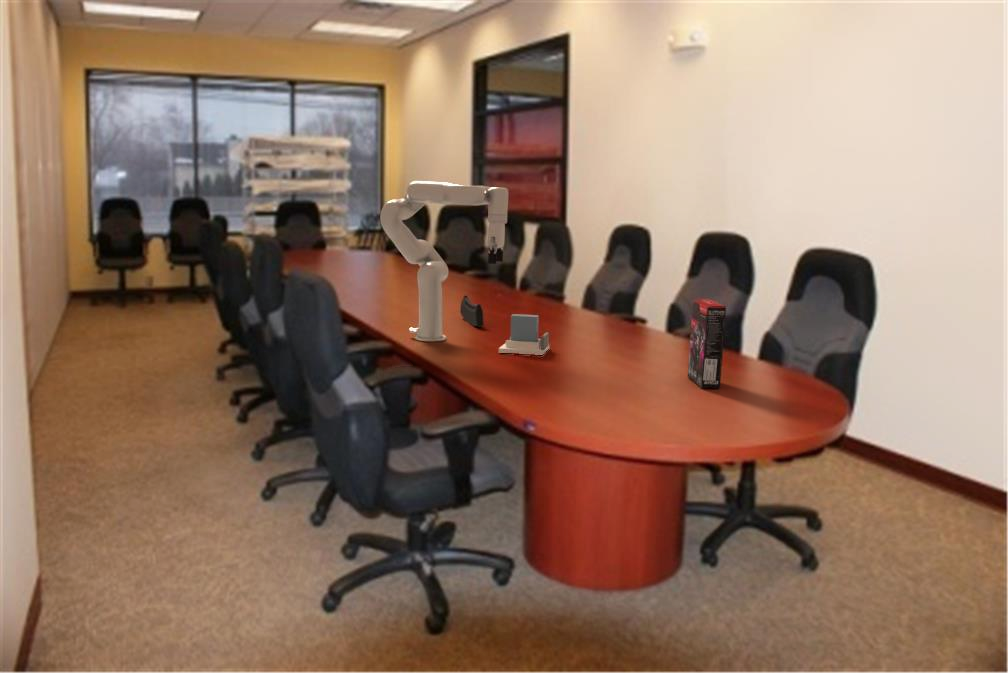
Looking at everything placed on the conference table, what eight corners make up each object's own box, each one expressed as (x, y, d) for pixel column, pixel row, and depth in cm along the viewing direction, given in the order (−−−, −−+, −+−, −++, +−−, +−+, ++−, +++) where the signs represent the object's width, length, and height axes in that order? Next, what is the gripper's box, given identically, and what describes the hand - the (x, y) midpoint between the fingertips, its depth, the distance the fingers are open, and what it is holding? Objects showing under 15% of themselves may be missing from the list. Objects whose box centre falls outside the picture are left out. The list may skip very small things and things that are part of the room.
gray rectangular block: (510, 346, 342) (510, 315, 340) (512, 344, 346) (513, 314, 343) (535, 348, 340) (536, 317, 337) (537, 346, 343) (538, 315, 341)
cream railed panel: (498, 353, 338) (499, 335, 337) (506, 346, 351) (507, 329, 350) (542, 356, 334) (543, 338, 333) (549, 349, 348) (549, 331, 346)
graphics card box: (686, 377, 303) (690, 298, 298) (706, 377, 304) (710, 298, 299) (701, 389, 287) (706, 305, 282) (722, 389, 287) (727, 305, 282)
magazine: (485, 309, 388) (469, 281, 413) (478, 309, 387) (462, 281, 413) (481, 344, 396) (466, 314, 421) (474, 344, 395) (459, 315, 420)
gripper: (494, 217, 359) (492, 259, 362) (482, 219, 342) (480, 263, 345) (512, 218, 357) (510, 261, 360) (501, 220, 340) (498, 265, 344)
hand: (495, 262), depth 353 cm, fingers open, 9 cm apart
